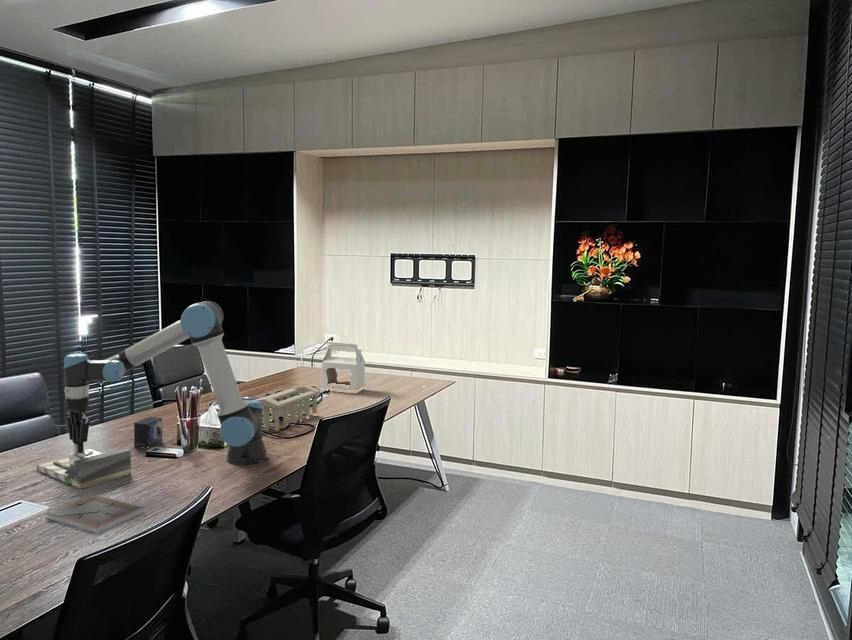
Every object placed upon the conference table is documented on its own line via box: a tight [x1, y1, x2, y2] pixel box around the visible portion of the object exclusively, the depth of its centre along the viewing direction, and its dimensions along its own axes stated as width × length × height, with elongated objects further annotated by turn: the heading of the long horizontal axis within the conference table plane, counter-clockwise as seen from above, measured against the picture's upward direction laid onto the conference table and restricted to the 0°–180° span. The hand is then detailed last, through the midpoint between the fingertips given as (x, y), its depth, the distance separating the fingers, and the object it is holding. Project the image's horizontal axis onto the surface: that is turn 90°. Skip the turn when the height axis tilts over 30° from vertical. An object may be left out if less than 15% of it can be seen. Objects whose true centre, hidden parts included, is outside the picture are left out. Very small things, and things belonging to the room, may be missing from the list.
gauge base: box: [36, 447, 132, 490], centre depth 229 cm, size 30×18×9 cm, turn 57°
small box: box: [133, 416, 163, 449], centre depth 262 cm, size 11×6×10 cm, turn 168°
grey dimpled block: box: [65, 448, 102, 473], centre depth 226 cm, size 8×13×5 cm, turn 147°
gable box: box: [321, 342, 366, 390], centre depth 371 cm, size 22×13×28 cm, turn 75°
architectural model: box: [252, 384, 322, 430], centre depth 302 cm, size 35×15×15 cm, turn 157°
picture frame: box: [46, 494, 145, 534], centre depth 194 cm, size 16×2×22 cm
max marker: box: [68, 467, 75, 479], centre depth 218 cm, size 4×2×3 cm, turn 57°
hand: (79, 459), depth 231 cm, fingers closed
